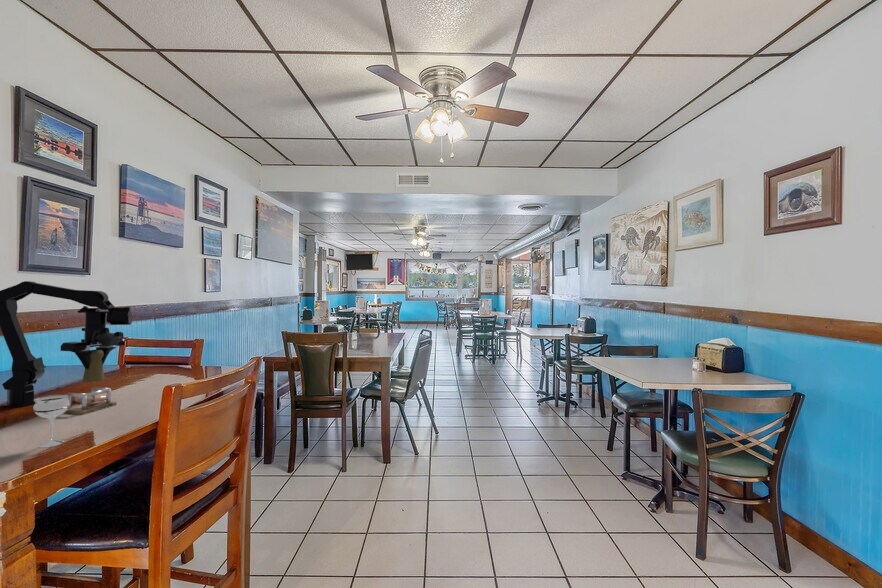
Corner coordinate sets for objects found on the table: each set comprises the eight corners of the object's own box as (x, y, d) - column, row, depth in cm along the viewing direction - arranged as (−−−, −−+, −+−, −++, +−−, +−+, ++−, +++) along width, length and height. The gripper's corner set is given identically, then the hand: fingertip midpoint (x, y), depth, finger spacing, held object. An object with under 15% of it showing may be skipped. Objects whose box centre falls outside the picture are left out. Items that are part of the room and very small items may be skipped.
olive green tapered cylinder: (109, 378, 144) (110, 349, 144) (92, 382, 138) (94, 351, 138) (94, 377, 145) (95, 348, 145) (77, 381, 139) (78, 350, 139)
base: (59, 412, 126) (59, 409, 126) (94, 403, 136) (94, 400, 136) (83, 414, 124) (83, 411, 124) (116, 404, 135) (116, 402, 135)
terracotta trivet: (66, 401, 137) (67, 399, 137) (95, 394, 147) (95, 392, 147) (91, 403, 136) (91, 400, 136) (118, 396, 146) (118, 393, 146)
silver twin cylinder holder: (64, 408, 126) (65, 393, 126) (93, 401, 135) (94, 386, 135) (83, 410, 125) (84, 394, 125) (111, 402, 134) (112, 387, 134)
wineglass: (70, 443, 101) (71, 397, 101) (32, 451, 96) (33, 402, 96) (67, 436, 106) (68, 393, 106) (31, 443, 100) (32, 397, 100)
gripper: (87, 328, 131) (86, 374, 131) (138, 324, 150) (136, 364, 150) (59, 326, 133) (58, 372, 133) (112, 323, 151) (111, 363, 151)
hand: (93, 367), depth 142 cm, fingers closed on olive green tapered cylinder, 4 cm apart
